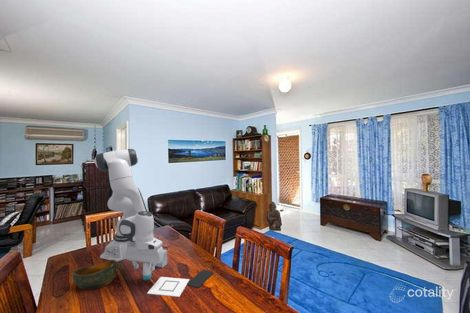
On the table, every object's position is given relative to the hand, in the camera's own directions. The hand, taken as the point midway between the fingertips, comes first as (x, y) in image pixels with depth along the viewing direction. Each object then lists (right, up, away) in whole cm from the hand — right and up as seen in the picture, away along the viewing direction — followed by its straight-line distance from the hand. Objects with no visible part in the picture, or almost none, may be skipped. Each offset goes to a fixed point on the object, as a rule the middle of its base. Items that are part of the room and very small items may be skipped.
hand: (144, 269), depth 106 cm
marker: (+1, -5, +1) cm, 6 cm away
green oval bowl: (-22, -6, -4) cm, 23 cm away
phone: (+30, -6, +1) cm, 30 cm away
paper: (+15, -5, -6) cm, 17 cm away
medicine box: (+3, -6, +14) cm, 15 cm away
